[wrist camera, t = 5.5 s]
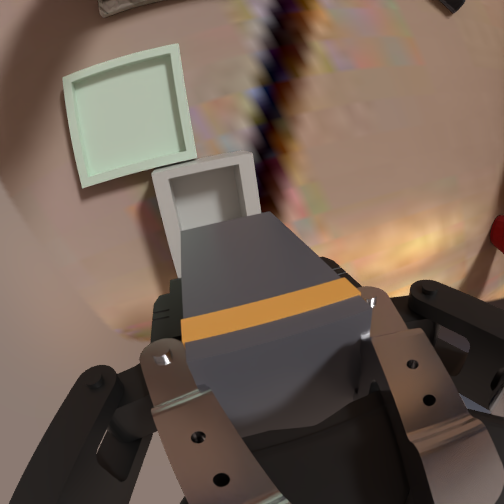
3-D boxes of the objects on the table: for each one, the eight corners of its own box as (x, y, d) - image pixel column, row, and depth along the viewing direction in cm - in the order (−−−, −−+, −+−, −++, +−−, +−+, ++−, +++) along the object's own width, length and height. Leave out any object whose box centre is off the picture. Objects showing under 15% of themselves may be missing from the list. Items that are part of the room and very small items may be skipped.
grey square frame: (155, 168, 25) (143, 184, 17) (242, 150, 26) (270, 158, 18) (182, 275, 29) (185, 330, 21) (258, 257, 31) (287, 304, 22)
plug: (179, 230, 12) (183, 360, 5) (270, 210, 13) (374, 305, 6) (200, 308, 14) (226, 453, 7) (280, 288, 15) (358, 411, 8)
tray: (68, 79, 19) (62, 77, 18) (178, 48, 21) (178, 43, 19) (87, 185, 24) (82, 188, 22) (196, 156, 25) (197, 157, 24)
